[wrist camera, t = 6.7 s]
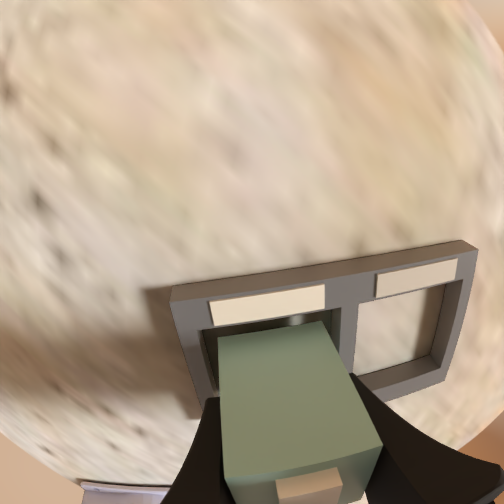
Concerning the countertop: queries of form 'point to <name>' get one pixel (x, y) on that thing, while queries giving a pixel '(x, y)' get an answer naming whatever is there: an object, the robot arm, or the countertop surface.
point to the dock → (333, 308)
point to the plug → (292, 419)
